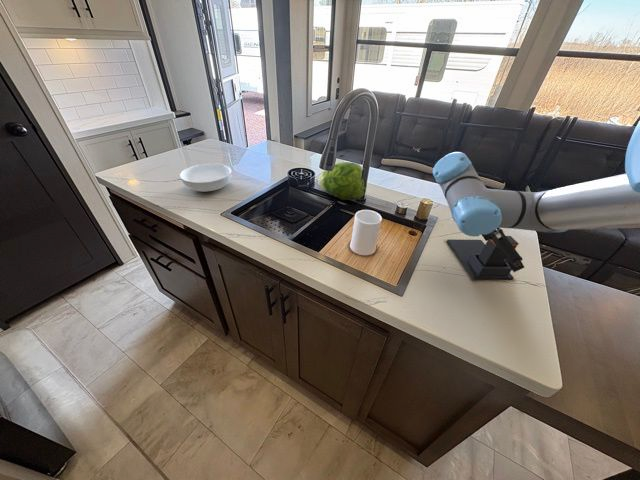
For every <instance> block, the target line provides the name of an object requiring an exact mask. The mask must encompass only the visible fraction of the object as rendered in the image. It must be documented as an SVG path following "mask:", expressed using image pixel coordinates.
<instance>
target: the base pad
mask: <svg viewBox="0 0 640 480" xmlns="http://www.w3.org/2000/svg"><path fill="white" fill-rule="evenodd" d="M446 243H447V245H448V246H449V248H450V249H451V250H452V252H453V253H454V255H455V256H456V258H457V259H458V260H459V262H460V263H461V265H462V266H463V267H464V270H466V272H467V274H468V275H469V276H470V278H471V279H472V281H513V280H514V276H513V275H512V274H511V272H513V271H512V269H511V268H510V266H509V264H508V263H505V265H504V266H503V267H483V265H482V264H481V263H480V261H479V260H478V259H477V258H478V257H479V255H480V253H481V251H482V250H483V248H484V246H485V244H486V243H484V241H483V240H482V239H447V240H446Z"/></svg>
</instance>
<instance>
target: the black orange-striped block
mask: <svg viewBox="0 0 640 480" xmlns="http://www.w3.org/2000/svg"><path fill="white" fill-rule="evenodd" d="M505 236H506V237H507V239H508V240H509V241H510V243H511V244H512V245H513V247H514V248H515V249H517V247H518V246H519V242H518V241H517V240H516V239H515V238H514V237H513V236H512V235H505ZM484 244H485V246H484V248H483V250H482V251H481V253H480V255H479V257H478V258H477V259H478V260H479V261H480V263H481V264H482V265H483V267H503V266H504V265H505V262H504V260H505V256H504V255H503V254H502V253H501V251H500V250H499V249H498V247H497V246H496V245H495V243H494V242H493V241H492V240H491V239H488V240H487V241H486V243H484Z"/></svg>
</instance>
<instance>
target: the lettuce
mask: <svg viewBox="0 0 640 480" xmlns="http://www.w3.org/2000/svg"><path fill="white" fill-rule="evenodd" d="M334 163H335V166H334V169H333V171H325V169H324V170H323V171H322V172H321V173H320V175H319V177H318V178H317V183H318V186H319V187H320V188H321V189H322V190H324V191H326V192H327V193H328V194H329V195H330V196H332V195H333V196H332V197H334V198H337V197H338V199H340V200H342V201H353V200H360V199H361V198H363V196H365V194H364V189H365V193H366V192H367V188H368V182H367V183H366V188H365V187H364V180H363V179H361V176H362V169H364V167H362V165H360V164H359V163H356V162H351V161H343V162H334Z"/></svg>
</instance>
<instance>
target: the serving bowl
mask: <svg viewBox="0 0 640 480" xmlns="http://www.w3.org/2000/svg"><path fill="white" fill-rule="evenodd" d="M232 171H233V170H232V168H231V167H230V166H229V165H226V164H222V163H216V162H214V163H213V162H212V163H201V164H196V165H192V166H189V167H187V168H185V169H183V170H182V171H181V172H180V174H179V178H180V180H181V182H182V184H183V185H185V186H186V187H187V188H188V189H190V190H193V191H196V192H212V191H213V192H214V191H218V190H220V189H223V188H224V187H226V186H227V185H228V184H229V183H230V181H231V179H232V175H233V174H232V173H233V172H232Z"/></svg>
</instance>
